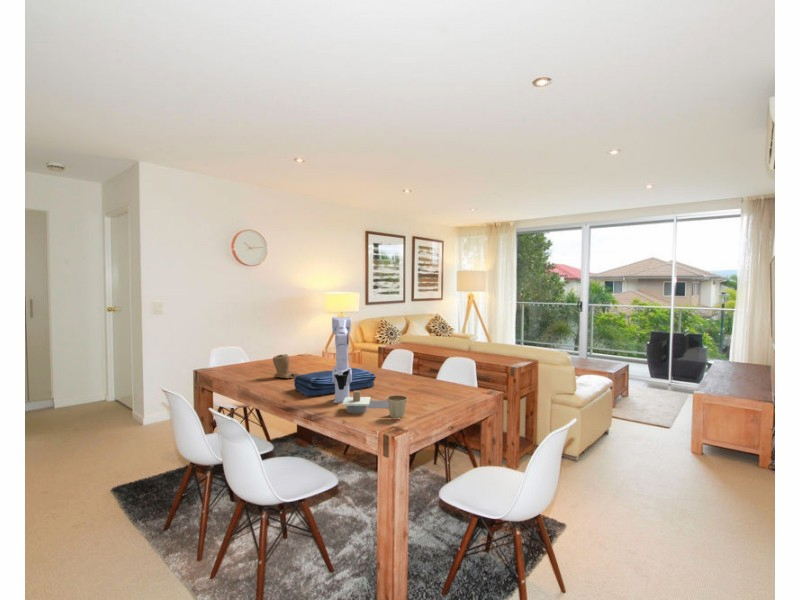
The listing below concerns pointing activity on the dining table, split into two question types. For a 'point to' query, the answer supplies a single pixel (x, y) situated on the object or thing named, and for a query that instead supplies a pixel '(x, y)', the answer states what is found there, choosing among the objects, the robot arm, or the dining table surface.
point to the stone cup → (283, 367)
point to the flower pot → (397, 405)
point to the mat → (378, 404)
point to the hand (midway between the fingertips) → (342, 387)
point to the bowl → (356, 409)
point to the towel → (330, 382)
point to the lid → (356, 400)
